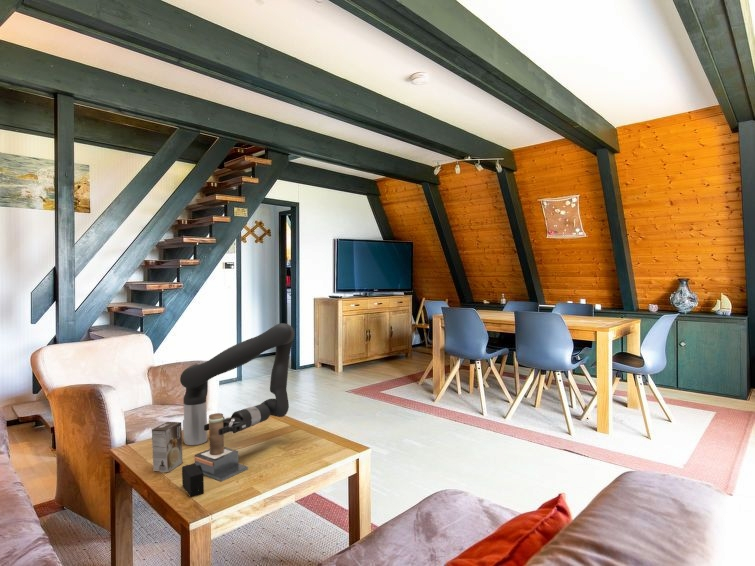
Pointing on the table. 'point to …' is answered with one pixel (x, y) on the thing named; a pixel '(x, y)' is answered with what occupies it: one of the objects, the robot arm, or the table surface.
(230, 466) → the step stand
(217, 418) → the column
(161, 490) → the table surface
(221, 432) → the robot arm
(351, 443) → the table surface
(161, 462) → the coffee box
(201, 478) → the digital camera
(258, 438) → the table surface
